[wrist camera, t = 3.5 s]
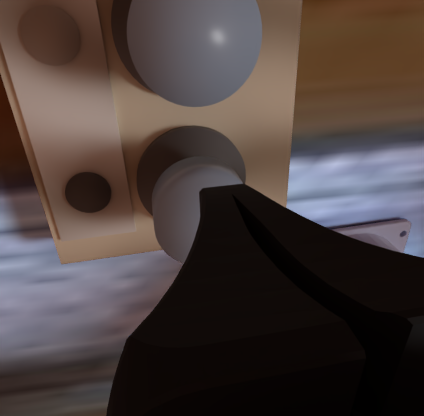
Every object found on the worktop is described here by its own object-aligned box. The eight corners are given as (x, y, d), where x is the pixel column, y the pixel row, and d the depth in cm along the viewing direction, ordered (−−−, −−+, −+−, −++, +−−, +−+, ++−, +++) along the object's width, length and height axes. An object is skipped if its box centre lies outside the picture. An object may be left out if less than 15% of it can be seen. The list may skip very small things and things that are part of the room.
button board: (269, 209, 22) (287, 237, 20) (68, 236, 21) (59, 270, 18) (298, -347, 12) (344, -444, 9) (-115, -389, 10) (-200, -524, 7)
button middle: (244, 88, 14) (260, 101, 12) (136, 97, 13) (137, 112, 11) (245, -40, 12) (264, -47, 10) (117, -36, 11) (115, -43, 9)
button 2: (242, 231, 17) (255, 257, 15) (157, 243, 16) (160, 272, 15) (243, 151, 15) (257, 170, 13) (145, 161, 14) (147, 183, 13)
